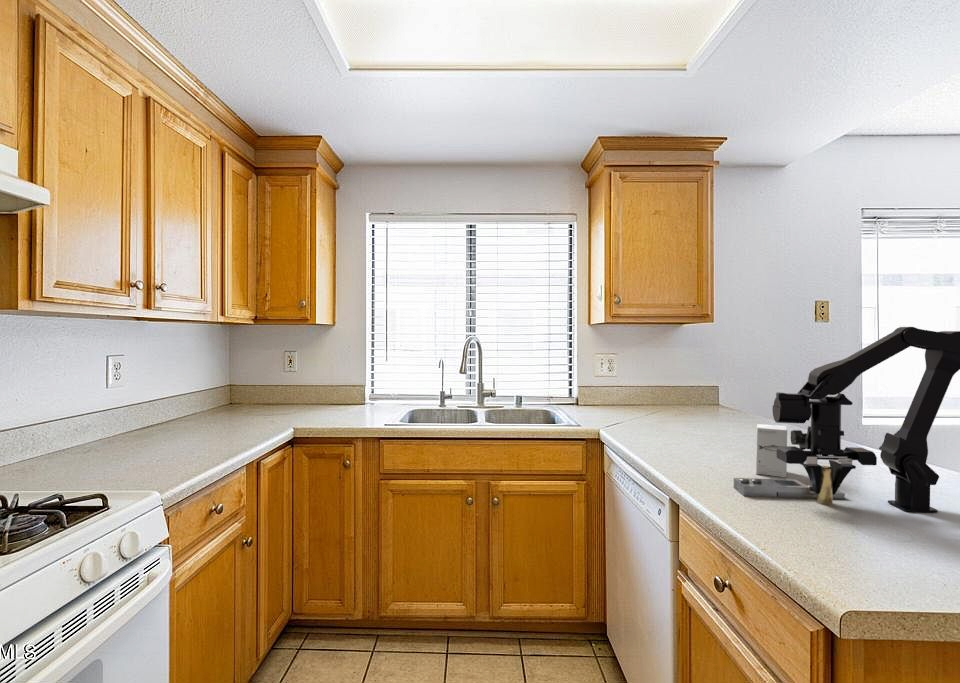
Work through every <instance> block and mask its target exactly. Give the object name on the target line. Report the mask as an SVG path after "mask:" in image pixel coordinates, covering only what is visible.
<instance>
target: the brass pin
mask: <svg viewBox="0 0 960 683" xmlns="http://www.w3.org/2000/svg"><path fill="white" fill-rule="evenodd" d="M820 466H821V483H820V492H819V494H817V498H816V503H817V504H819V505H824V506H832V505H833V502H834V500H833V468H832V467H830V466H827V465H820Z"/></svg>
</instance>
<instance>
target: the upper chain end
mask: <svg viewBox="0 0 960 683" xmlns="http://www.w3.org/2000/svg"><path fill="white" fill-rule="evenodd" d="M782 485H788V486H782ZM806 485H807V484H806V483H803V482H801V481H799V480H797V479H794V478H793V479H789V478H753V477H752V478H748V477H747V478H746V477H745V478H744V477H733V489H735V490H736V491H737V492H738V493H740V494H741V495H742V496H744V497H754V498H755V497H759V498H761V497H763V498H765V497H766V498H778V497H777V492H799V493H810V487H808V486H806Z"/></svg>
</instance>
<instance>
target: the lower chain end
mask: <svg viewBox="0 0 960 683" xmlns="http://www.w3.org/2000/svg"><path fill="white" fill-rule="evenodd" d="M805 485H806V486H808V487H810V493H799V492H777V497H776V498H794V499H795V498H796V499H797V498H798V499H799V498H800V499H801V498H803V499H817V494H816V493H815V492H814V489H813V486H812V484H805ZM782 486H788V485H782ZM845 497H846V496H845V493H844V492H842V491H841V490H839V489H838V490H837V492H836V493H835V495H833V499H837V500H845Z"/></svg>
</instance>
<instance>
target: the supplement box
mask: <svg viewBox="0 0 960 683" xmlns="http://www.w3.org/2000/svg"><path fill="white" fill-rule="evenodd" d="M755 439H756V446H755V448H756V449H755V452H756V453H755V473H756V475H764V476H771V477H772V476H773V477H780V476H781V478H787V476H788V475H787V472H788V471H787V468H788V467H787V464H788V463H786V462H784V461H782V460H780V459H778V458H777V449H778V448H779V447H780V446H788V426H787V425H775V424H762V423H761V424H760V423H757V424H756V438H755Z"/></svg>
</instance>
